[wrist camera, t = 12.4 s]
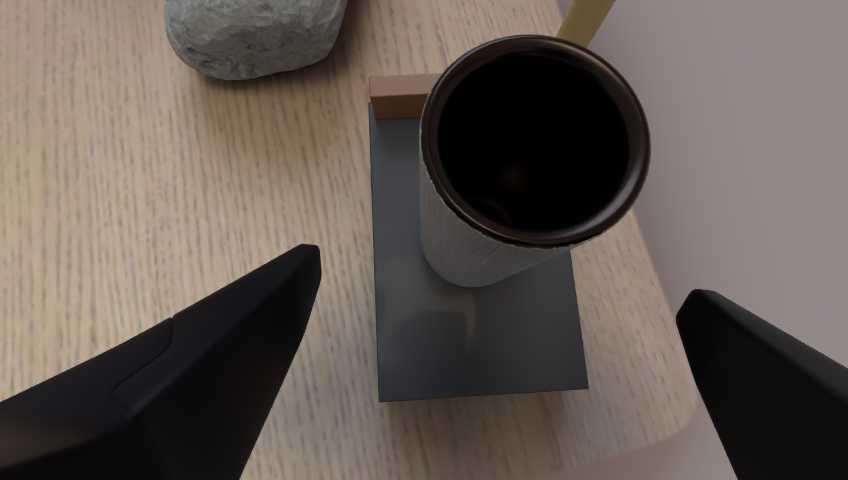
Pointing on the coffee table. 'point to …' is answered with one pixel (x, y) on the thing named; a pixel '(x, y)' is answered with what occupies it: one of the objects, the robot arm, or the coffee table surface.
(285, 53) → the decorative stone
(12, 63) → the coffee table surface
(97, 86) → the coffee table surface
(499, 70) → the planter
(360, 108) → the coffee table surface
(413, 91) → the stand with wooden pole
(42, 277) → the coffee table surface
